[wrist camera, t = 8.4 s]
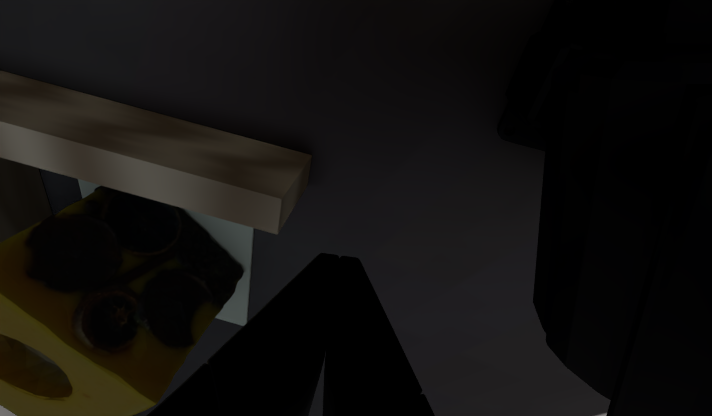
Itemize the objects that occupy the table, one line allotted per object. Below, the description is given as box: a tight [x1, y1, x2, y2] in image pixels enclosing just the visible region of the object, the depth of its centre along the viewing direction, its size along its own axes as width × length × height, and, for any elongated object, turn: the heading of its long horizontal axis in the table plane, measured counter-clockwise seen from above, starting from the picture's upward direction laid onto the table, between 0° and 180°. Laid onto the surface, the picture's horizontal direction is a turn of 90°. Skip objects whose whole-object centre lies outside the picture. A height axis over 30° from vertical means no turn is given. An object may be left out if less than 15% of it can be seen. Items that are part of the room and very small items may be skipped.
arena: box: [0, 70, 312, 243], centre depth 23 cm, size 20×21×5 cm
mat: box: [78, 179, 254, 326], centre depth 25 cm, size 12×12×1 cm
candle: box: [0, 186, 244, 416], centre depth 21 cm, size 10×10×10 cm
